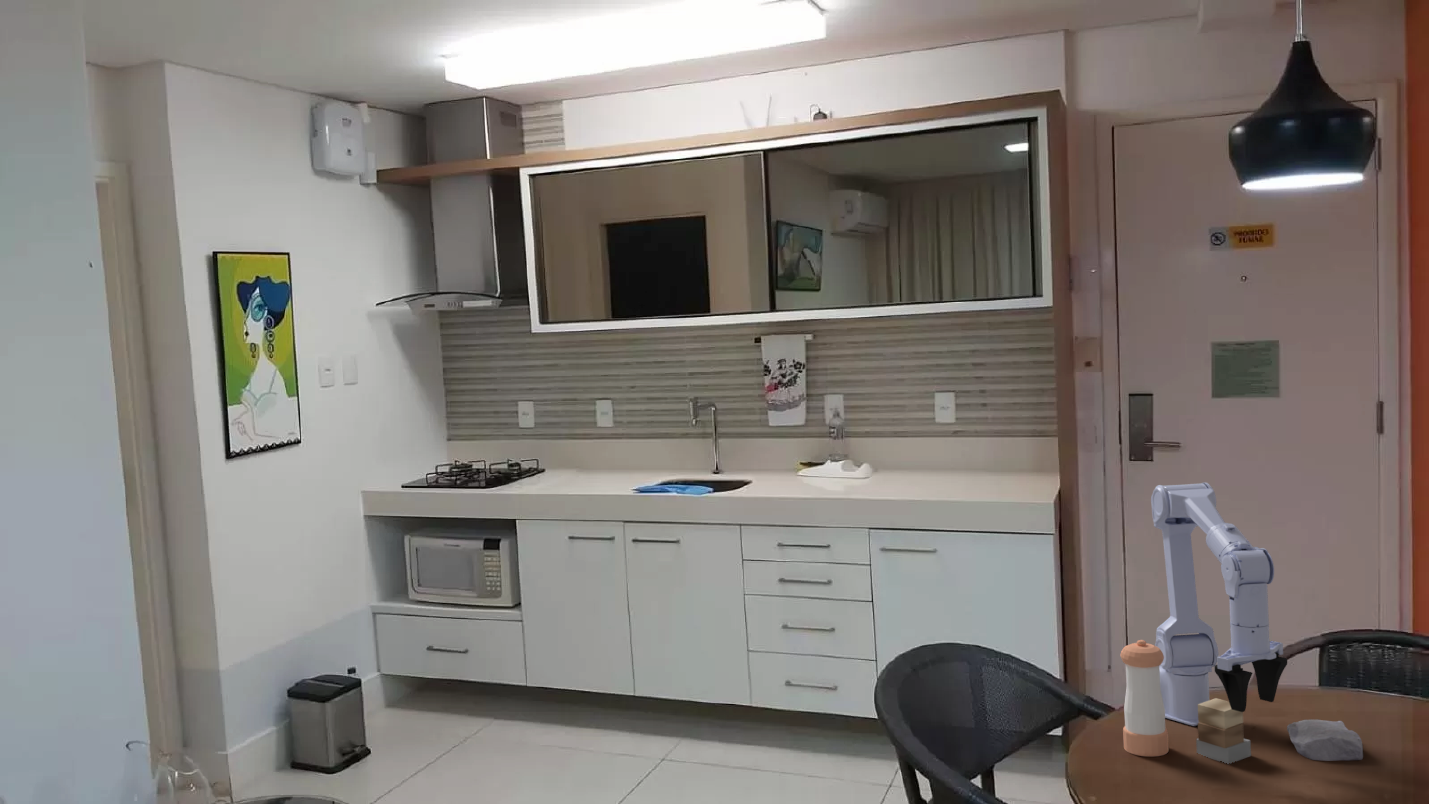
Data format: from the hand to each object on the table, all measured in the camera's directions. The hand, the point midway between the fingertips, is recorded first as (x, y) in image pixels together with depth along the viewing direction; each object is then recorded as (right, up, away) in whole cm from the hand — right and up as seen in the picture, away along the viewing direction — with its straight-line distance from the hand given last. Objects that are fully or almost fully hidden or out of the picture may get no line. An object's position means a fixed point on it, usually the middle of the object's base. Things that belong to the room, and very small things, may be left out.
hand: (1252, 705), depth 182 cm
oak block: (-2, -5, +7) cm, 8 cm away
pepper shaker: (-13, -11, +11) cm, 20 cm away
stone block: (+15, -10, +7) cm, 20 cm away
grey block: (-2, -11, +7) cm, 13 cm away
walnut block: (-2, -8, +6) cm, 10 cm away
